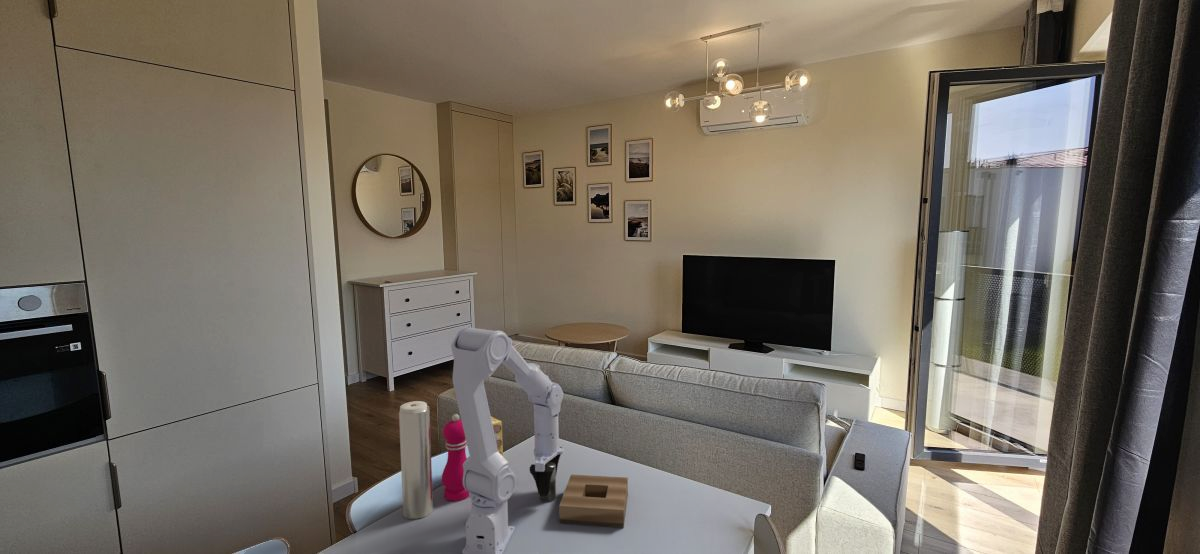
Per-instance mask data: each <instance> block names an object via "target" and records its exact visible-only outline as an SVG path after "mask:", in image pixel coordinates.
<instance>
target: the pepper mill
mask: <svg viewBox="0 0 1200 554" xmlns="http://www.w3.org/2000/svg"><path fill="white" fill-rule="evenodd" d="M442 435H443V438H444V439H445V440H446V441H445V448H446V449H447V459H446V460H447V461H446V464H445V466H444V468H443V471H442V474H441V483H442V485H443V486H444V490H443V491H444V492H443V493H444V495H443V496H444V498H445V500H447V501H450V502H459V501H462V500H466V499H467V498H468V497H469V491H467V490H465V488H464V486H463V474H464V469H463V463H464V462H465V461H466V459H467V458H468V457H467V454H466V453H467V452H466V447H468V446H467V442H466V438H465V433H464V429H463V424H462V420H461V419H460V414H458V413H455V414H453V415H452V416H451V420H450V421H448V422H447V423H446V424H445V425H444V427H443V430H442ZM469 498H470V497H469Z"/></svg>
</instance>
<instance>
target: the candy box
mask: <svg viewBox="0 0 1200 554" xmlns="http://www.w3.org/2000/svg"><path fill="white" fill-rule="evenodd" d="M491 420H492V425H493V430H494V434H495V439H496V444H497V449H498V452H499V453H500V454H501V455H502V456H503V457H504V451H503V450H504V448H503V446H504V444H503V421H501V420H500V419H497V418H496V417H494V416H491Z"/></svg>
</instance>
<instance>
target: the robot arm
mask: <svg viewBox="0 0 1200 554" xmlns="http://www.w3.org/2000/svg"><path fill="white" fill-rule="evenodd" d="M450 348H451V352H452V356H453V357H452V358H453V368H452V384H453V389H454V393H455V398H456V401H457V402H456V403H457V407H458V411H459V417H460V420H462V424H463V429H464V433H465V438H466V442H467V446H466V447H467V450H468V455H469V456H468V457H466V458H467V459H466V461H465V462H464V463H463V469H464V474H463V486H464V488H465V490H467V491H469V498H470V499H471V501H470V502H471V511H470V514H469V516H468V518H467V520H466V523H465V542H466V543H465V546H464V547H463V549H462V551H461V554H503V553H504V551H505V549H506V547H507V545H508V544H509V542H510V540H511V537H512V535H513V533H514V531H515V529H516V528H515V526H514V525H509V511H508V510H509V509H508V500H509V499H510V498H511V497H512V495H513V494H514V491H515V489H516V485H517V484H516V482H517V481H516V480H517V479H516V475H515V473H514V471H513V470H512V469H511V467H510V462H509V461H508V460H507V459H506V458H505V457H504V455H503V456H502V455H501V454H500V453H499V452H498V449H497V444H496V439H495V434H494V430H493V425H492V420H491V411H490V406H489V403H488V398H487V397H488V396H487V393H486V388H485V384H484V382H485V381H486V380H487V379H489V378H490V377H491V376H492V375H493V374H494V373H495V372H496V370H497V369H498V368H499V366H500V365H501V364H502V365H503V366H504V367H505V368H507V370H509V371H510V372H511V373H513V374H514V375H515V377H514V380H515V383H516V385H518V386H519V388H521V389H522V390H523V391H524V392H525V393H526V394H527V398H528V402H529V403H532V404H533V421H534V422H533V423H534V424H533V426H534V429H533V432H534V449H533V455H534V460H535V462H534V464H531V465H530V466H529V473H530V475H532V477H533V479H534V483H535V487H536V490H537V493H538V496H539V495H541V496H548V493H549V489H550V481H551V476H552V473H553V471H554V469H555V467H556V474H557V471H558V465H559V461H560V458H561V455H563V454H564V452H565V448H564V447H562V446H560V445H559V444H560V442H559V440H560V437H559V435H560V433H559V430H560V429H559V413H560V412H561V405H562V402H563V399H564V398H563V397H564V391H563V389H562V387H561V386H560V384H559V383H557V382H553V381H552V380H551V379H550V377H549V375H546V374H545V373H544V372H543V371H542V370H541V369H540V368H541V366H540V365H539V364H538V363H533V362H527V361H526V360H525V359H524V357H522V355H521V354H520V352H518V350H517V348H515V347H514V345H513V340H512V338H510V337H509V336H508V334H507V333H506V332H505V331H502V330H491V329H483V328H475V327H473V326H465V327H463V328H461V329H460V330H459V331H458V332H457V333H456V335H455V337H454V339H453V341H452V343H451V345H450ZM547 462H553V463H555V467H548V465H547Z"/></svg>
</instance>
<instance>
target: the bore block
mask: <svg viewBox="0 0 1200 554" xmlns="http://www.w3.org/2000/svg"><path fill="white" fill-rule="evenodd" d="M628 484H629V478H628V477H624V476H623V477H622V476H621V477H620V476H607V475H605V476H603V475H588V474H586V475H585V474H584V475H583V474H570V476H569V478H568V481H567V484H566V486H565V489H564V492H563V495H562V498H561V500H560V503H559V506H558V507H559V510H558V512H559V513H558V514H559V515H558V516H559V518H558V519H559V520H558V521H559V523H558V524H562V525H574V526H588V527H589V526H592V527H604V528H605V527H606V528H619V529H620V528H621V529H624V528H625V520H626V511H627V506H628V505H627V504H628V496H629V485H628Z"/></svg>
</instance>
